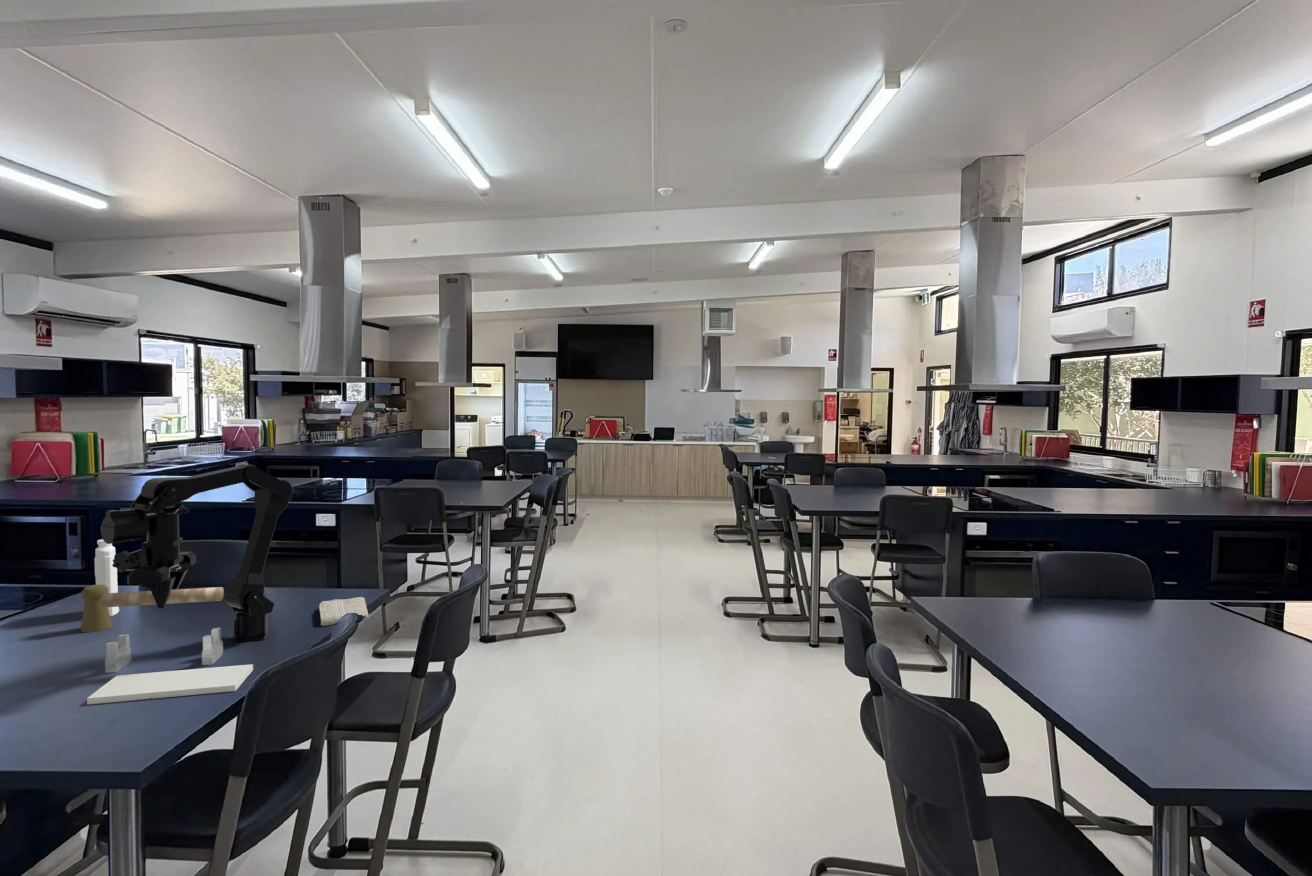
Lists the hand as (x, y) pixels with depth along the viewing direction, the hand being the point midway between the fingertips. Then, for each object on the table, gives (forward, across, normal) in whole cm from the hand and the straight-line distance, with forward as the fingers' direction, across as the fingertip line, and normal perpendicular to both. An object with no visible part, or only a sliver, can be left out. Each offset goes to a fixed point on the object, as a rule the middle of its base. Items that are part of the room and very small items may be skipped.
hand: (164, 605), depth 146 cm
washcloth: (+14, -28, +31) cm, 44 cm away
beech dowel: (-2, 0, 0) cm, 2 cm away
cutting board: (+13, +14, +7) cm, 20 cm away
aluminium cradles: (+13, 0, 0) cm, 13 cm away
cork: (+13, -30, -27) cm, 43 cm away
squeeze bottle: (+13, -44, -31) cm, 55 cm away
